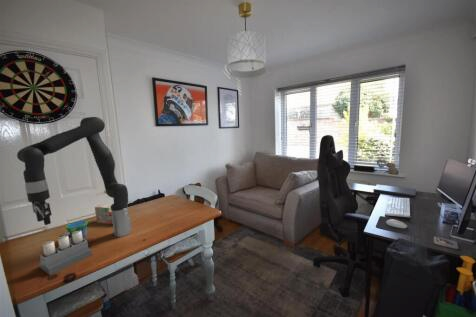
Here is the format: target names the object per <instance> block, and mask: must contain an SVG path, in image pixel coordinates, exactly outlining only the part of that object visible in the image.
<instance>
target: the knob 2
mask: <svg viewBox="0 0 476 317" xmlns="http://www.w3.org/2000/svg"><path fill="white" fill-rule="evenodd" d="M72 238H73V245H77V244H79V243H82V242H83V237H82V231H75V232H73V233H72Z"/></svg>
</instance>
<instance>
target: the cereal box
mask: <svg viewBox="0 0 476 317" xmlns="http://www.w3.org/2000/svg"><path fill="white" fill-rule="evenodd" d="M111 205H112V204H105V203H101V204H99V205H96V206H94V212H95V213H94V214H95V218H96V223H99V224H108V225H110V224H111V225H113V221H112V213H111Z"/></svg>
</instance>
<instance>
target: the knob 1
mask: <svg viewBox="0 0 476 317" xmlns="http://www.w3.org/2000/svg"><path fill="white" fill-rule="evenodd" d="M42 249H43V254H44V256H45V257H49V256H51V255H54V254H56V251H55V249H56V246H55V241H54V240H53V241H52V240H51V241H47V242H46V241H45V243H43V244H42Z"/></svg>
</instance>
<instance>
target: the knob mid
mask: <svg viewBox="0 0 476 317" xmlns="http://www.w3.org/2000/svg"><path fill="white" fill-rule="evenodd" d="M57 241H58V248H59V249H60V251H63V250H65V249H68V248H70V243H69V241H70V239H69V237H68V236H62V237H60V236H59V237H58V238H57Z"/></svg>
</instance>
